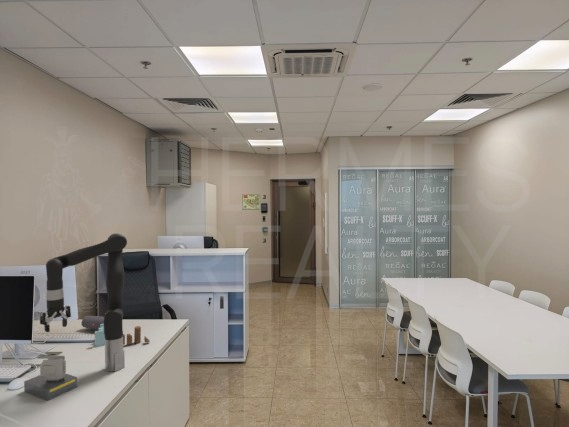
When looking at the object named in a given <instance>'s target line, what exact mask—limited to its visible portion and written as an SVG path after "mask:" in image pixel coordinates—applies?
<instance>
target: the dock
mask: <svg viewBox="0 0 569 427" xmlns="http://www.w3.org/2000/svg"><path fill="white" fill-rule="evenodd" d="M23 382H24V383H23V384H24V386H23V387H24V393H27V394H29V395H31V396H35V397H37V398H40V399H42V400H45V401H47V402H48V401H50V400H53V399H55V398H57V397H59V396H60V395H63V394H65V393H68V392H70V391H72V390H73V389H76V388H78V377H77V376H75V375H72V374H69V373H65V377H64V378H63V379H61V380H58V381H47V380H46V379H45V376H40V374H38V375H36V376H35V377H31V378H29V379H27V380H25V381H23Z"/></svg>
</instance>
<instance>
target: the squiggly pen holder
mask: <svg viewBox="0 0 569 427" xmlns="http://www.w3.org/2000/svg"><path fill="white" fill-rule="evenodd" d="M101 346H105V335H104V324H100V328H99V331H94V347H101Z"/></svg>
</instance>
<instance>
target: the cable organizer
mask: <svg viewBox="0 0 569 427" xmlns="http://www.w3.org/2000/svg"><path fill="white" fill-rule="evenodd" d="M65 357H66V356H65V355H50V356H49V357H48V358H47V359H44V360H43V361H42V362H41V363H40V364H39V368H40V370H39V371H40V373H39V375H40V376H45V379H46V380H47V381H58V380H61V379H63V378H64V377H65V373H66V372H67V362H66V358H65ZM66 374H67V373H66Z"/></svg>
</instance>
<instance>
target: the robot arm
mask: <svg viewBox="0 0 569 427" xmlns="http://www.w3.org/2000/svg"><path fill="white" fill-rule="evenodd" d="M127 245H128V240H127V237H126V236H125V235H123V234H121V233H111V234H110V235H109V236H108V237H107V239H106V240H104V241H103V242H100V243H97V244H94V245H89V246H86V247H82V248H79V249H76V250H73V251H71V252H69V253H66V254H63V255H60V256H56V257H53V258H50V259H49V260H47V261H46V262H45V270H46V271H45V272H46V296H45V297H46V298H45V299H46V301H45V302H46V311H45V312H44V311H43V312H42V311H41V312H40V314H39V324H40V325H44V332H45V333H50V331H51V330H50V327H51V326H50V324H51V322H52V321H53V320H54V319H56V318H60V317H61V322H62V324H61V325H62V327H63V328H65V327H67V326H68V319H69V318H71V316H72V314H71V313H72V310H71V306H70V305H65V291H64V282H63V281H64V280H63V273H64V272H63V271H64V270H63V269H65V268H68V267H73V266H77V265H79V264H82V263H84V262H86V261H89V260H92V259H95V258H97V257H99V256H102V255H105V254H107V264H106V265H107V266H106V276H105V278H106V279H105V287H106V295H107V307H106V308H107V309H106V313H105V314H104V316H103V317H104V335H105V345H104V356H105V357H104V362H105V364H104V368H105V371H106V372H117V371H120V370H121V369H124V368H125V366H126V365H125V350H124V345H123V334H124V330H123V318H124V311H123V310H124V309H123V294H124V288H125V268H124V262H123V251H124V250H123V249H125V248H126V247H127ZM64 305H65V306H64Z"/></svg>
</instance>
